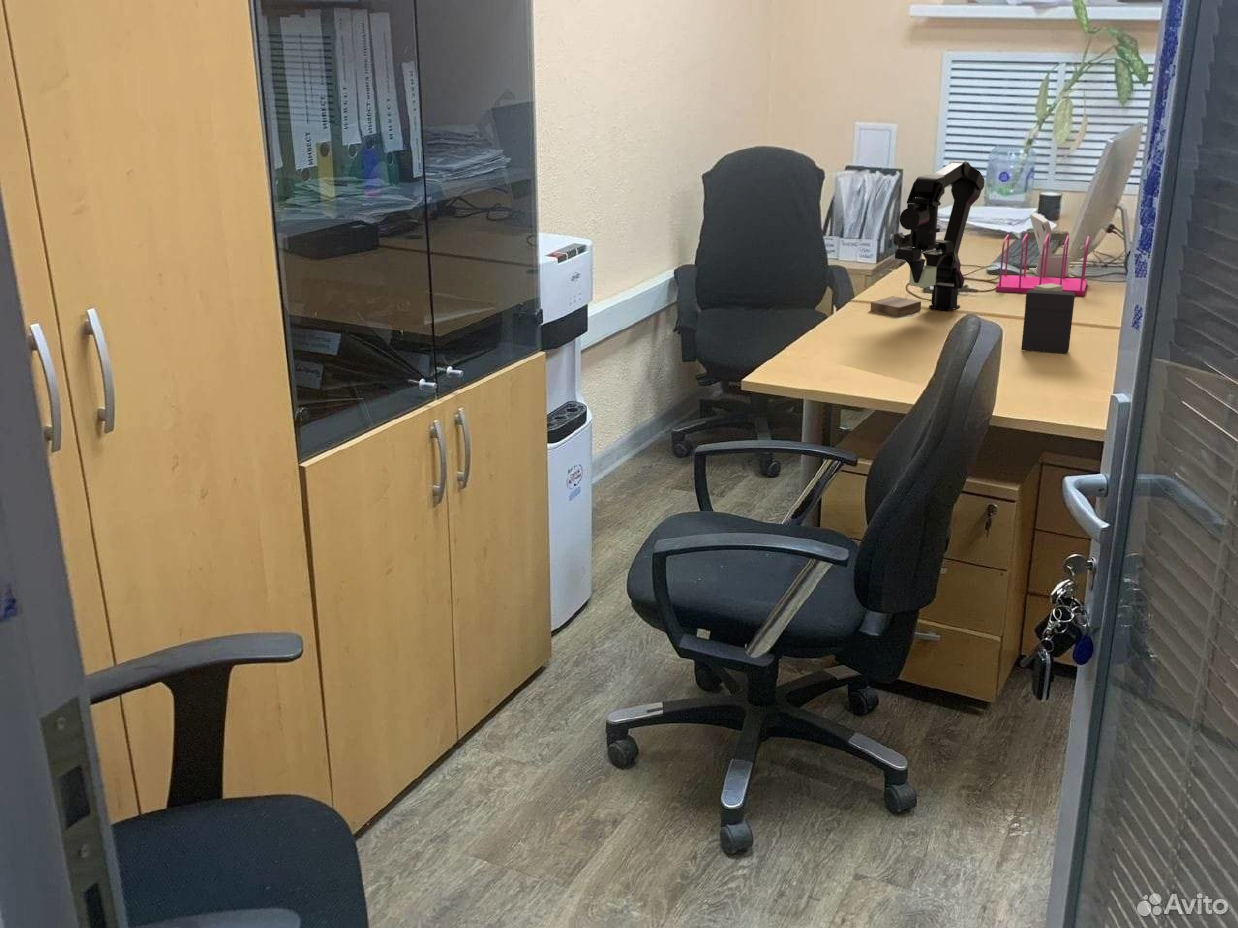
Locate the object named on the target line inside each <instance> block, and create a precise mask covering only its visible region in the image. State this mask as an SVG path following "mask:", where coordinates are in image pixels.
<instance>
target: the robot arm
mask: <svg viewBox="0 0 1238 928" xmlns="http://www.w3.org/2000/svg"><path fill="white" fill-rule="evenodd" d="M985 183H986V182H985V178H984V176H983V174H982V172H980V170H978V169H977V168H975V167H974V166H972V165H971V164H970V162H969V161H966V160H952V161H950V162H949V163H948V164H947V165H945V166H944V167H942V168H940V169H939V170H938V171H936V172H934V173H932V174H925V175H924V174H923V175H920V176H918V177H917V178H916V179H915V181H914V182H913V183H912V187H911V189H910V191H909V195H908V197H907V200H906V208H905V209H903V210H902V212H900V215H899V217H898V218H899V223H900V226H901V227H902V228H903V229H904V230H906V231H910V233H907V234H904V233H903V232H899V233H894V234H893V245H894V246H895V247H896V246H897V249H896V250H894V259H895V260H900V261H905V262H906V263H907V265H908V266H909V270H910V269H911V272H912V276H913V279H914V282H915V283H918V282H919V280H920V277H921V274H922V270H923V267H924V265H927V266H933V267H937V268H936V283H935V285H933V286H932V287H933V289H932V290H931V301H930V302H931V303H930V305H928V308H930V309H931V308H932V309H936V310H941V311H950V310H954V309H958V308H961V304H958V298H959V297H958V296H959V295H958V294H959V290H960V289H963V287H964V284H965V277H964V275H963V273H962V271H961V268H962V267H961V266H962V265H961V260H960V258H959V251H960V247H961V244H962V241H963V238H964V237H963V236H964V233H965V229H966V225H967V221H968V218H969V215H970V211H971V207H972V205H973V204H974V203H975V202H976V201H977V200H978V199H979V198H980V196H981V194H982V190H983V189H984V188H985ZM948 186H951V188H950V192H951V194H952V195H951V196H952V199H953V204H952V208H951V211H950V212H951V213H950V215H949V218H948V223H947V226H946V230H945V233H944V237H943V239H937V233H940V232H941V228H940V227H938V216H939V215H938V213H939V206H942V203H941V201H940V200H941V198H942V197H943V196H944V194H945V193H946V192H945V191H946V188H947V187H948ZM923 257H924V258H923Z"/></svg>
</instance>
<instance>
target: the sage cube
mask: <svg viewBox="0 0 1238 928" xmlns="http://www.w3.org/2000/svg"><path fill="white" fill-rule="evenodd" d="M936 268H937V267H933V266H927V265H926V264H924V267H923V270H922V274H921V277H920V280H919V282H918V283H915V282H914V279H913V276H912V272H911V269H910V268H909V281H908V282H909V283H908V284H909V286H912V287H917V288H921V289H922V288H923V289H925V288H928V287H929V288H930V287H934V286H933V285H935V283H936Z"/></svg>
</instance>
